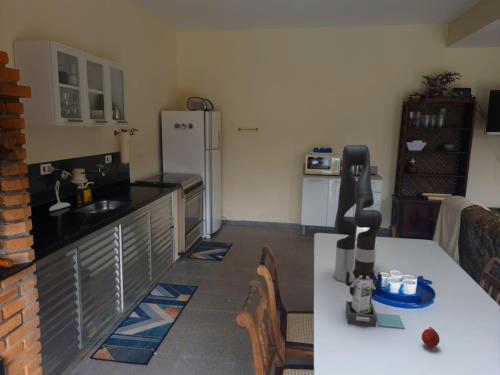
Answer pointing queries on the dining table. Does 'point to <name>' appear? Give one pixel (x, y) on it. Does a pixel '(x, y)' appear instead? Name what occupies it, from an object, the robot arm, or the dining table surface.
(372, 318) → the gray frame
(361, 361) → the dining table surface
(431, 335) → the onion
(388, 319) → the teal mat
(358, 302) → the syrup box
